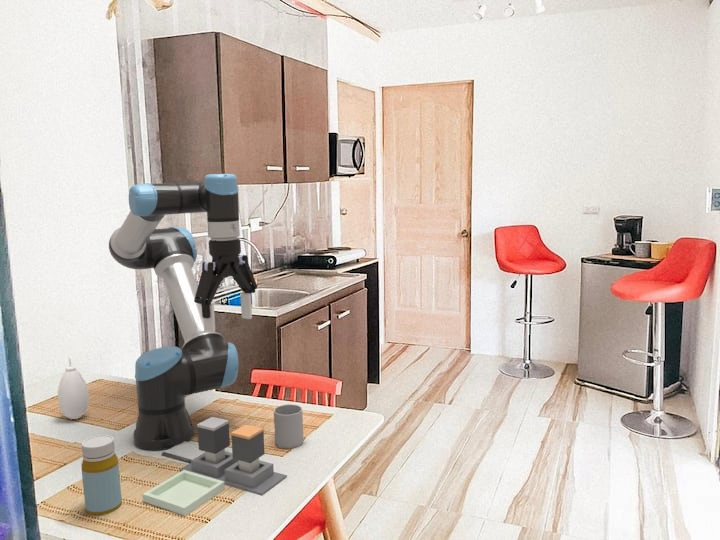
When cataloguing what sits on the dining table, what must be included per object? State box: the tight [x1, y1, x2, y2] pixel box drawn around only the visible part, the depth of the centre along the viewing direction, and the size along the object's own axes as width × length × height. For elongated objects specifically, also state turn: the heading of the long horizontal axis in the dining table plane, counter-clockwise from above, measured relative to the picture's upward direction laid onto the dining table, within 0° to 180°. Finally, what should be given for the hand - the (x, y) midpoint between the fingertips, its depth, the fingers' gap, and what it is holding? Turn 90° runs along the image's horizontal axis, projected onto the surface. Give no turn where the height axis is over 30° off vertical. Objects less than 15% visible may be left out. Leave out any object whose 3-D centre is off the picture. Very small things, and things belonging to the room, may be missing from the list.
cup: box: [273, 404, 304, 450], centre depth 160 cm, size 7×10×9 cm
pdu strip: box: [161, 416, 288, 496], centre depth 144 cm, size 34×9×12 cm, turn 61°
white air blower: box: [57, 358, 90, 420], centre depth 177 cm, size 8×8×18 cm
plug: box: [230, 424, 266, 474], centre depth 140 cm, size 5×5×11 cm
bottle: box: [81, 434, 123, 516], centre depth 129 cm, size 7×7×15 cm
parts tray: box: [142, 470, 226, 517], centre depth 134 cm, size 12×12×2 cm
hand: (229, 324), depth 154 cm, fingers open, 13 cm apart
